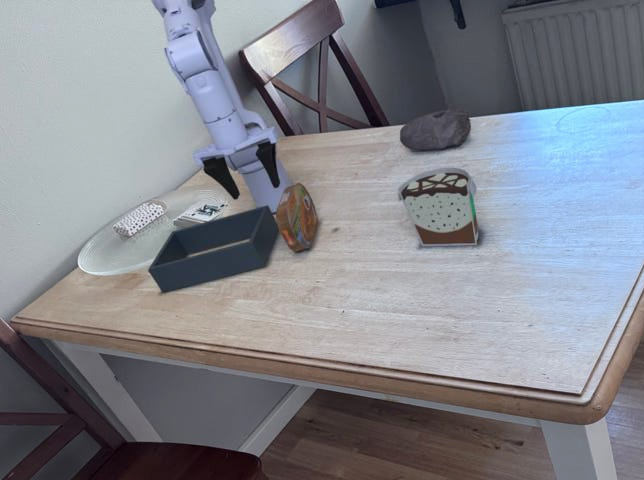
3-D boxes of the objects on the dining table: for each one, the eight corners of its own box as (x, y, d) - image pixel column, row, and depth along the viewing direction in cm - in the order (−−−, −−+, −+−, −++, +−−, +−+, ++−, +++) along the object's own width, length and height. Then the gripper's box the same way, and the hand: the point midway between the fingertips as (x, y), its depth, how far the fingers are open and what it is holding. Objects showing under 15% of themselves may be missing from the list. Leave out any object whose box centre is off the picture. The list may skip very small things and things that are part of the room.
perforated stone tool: (399, 157, 129) (388, 124, 125) (409, 145, 133) (399, 113, 128) (467, 150, 122) (458, 115, 118) (476, 137, 125) (468, 102, 121)
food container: (499, 222, 98) (485, 162, 92) (486, 244, 94) (470, 183, 88) (429, 224, 104) (411, 168, 98) (413, 246, 100) (394, 189, 94)
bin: (185, 253, 125) (172, 231, 122) (279, 228, 121) (268, 204, 117) (162, 292, 114) (147, 270, 111) (264, 266, 110) (251, 242, 107)
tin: (308, 257, 108) (287, 214, 103) (290, 261, 109) (269, 218, 104) (320, 215, 120) (302, 174, 114) (305, 219, 120) (286, 178, 115)
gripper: (172, 137, 100) (213, 212, 109) (256, 111, 97) (292, 190, 106) (185, 120, 106) (223, 194, 114) (265, 95, 103) (298, 172, 111)
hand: (257, 191), depth 110 cm, fingers open, 7 cm apart
